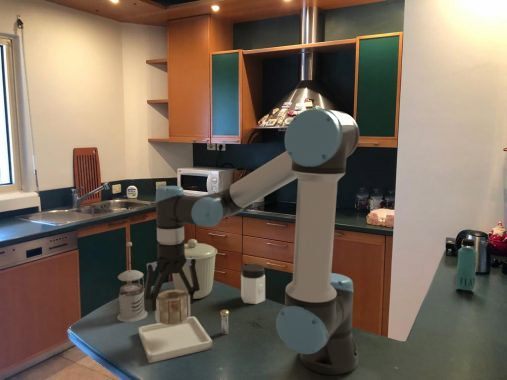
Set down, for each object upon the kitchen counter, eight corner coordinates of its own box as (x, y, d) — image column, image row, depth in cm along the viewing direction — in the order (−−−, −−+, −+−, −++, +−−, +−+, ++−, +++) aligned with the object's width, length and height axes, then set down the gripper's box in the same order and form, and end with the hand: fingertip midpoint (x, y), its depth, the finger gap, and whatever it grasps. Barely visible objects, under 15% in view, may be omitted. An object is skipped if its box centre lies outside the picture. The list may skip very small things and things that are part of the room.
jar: (251, 306, 141) (251, 273, 139) (236, 299, 147) (236, 267, 145) (269, 299, 147) (269, 267, 145) (254, 292, 153) (254, 262, 151)
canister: (160, 293, 153) (158, 238, 150) (201, 281, 165) (200, 231, 162) (185, 308, 140) (183, 249, 137) (227, 295, 151) (226, 240, 148)
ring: (184, 310, 122) (183, 288, 121) (189, 323, 114) (189, 300, 113) (157, 314, 120) (156, 291, 119) (160, 328, 111) (160, 304, 110)
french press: (110, 320, 131) (106, 245, 128) (129, 305, 142) (126, 236, 139) (138, 323, 129) (134, 247, 125) (155, 308, 140) (152, 237, 136)
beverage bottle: (456, 293, 152) (460, 241, 149) (453, 286, 158) (457, 236, 155) (476, 295, 150) (480, 242, 147) (472, 288, 156) (476, 237, 153)
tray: (212, 348, 114) (212, 341, 113) (149, 363, 106) (148, 356, 106) (194, 321, 130) (194, 316, 129) (138, 333, 122) (138, 327, 122)
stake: (230, 333, 122) (230, 312, 121) (222, 335, 121) (222, 314, 120) (227, 330, 124) (227, 309, 123) (219, 331, 123) (219, 310, 122)
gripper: (202, 234, 122) (203, 306, 125) (130, 242, 113) (133, 319, 116) (210, 240, 115) (211, 316, 118) (134, 249, 106) (137, 330, 109)
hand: (173, 317), depth 117 cm, fingers closed on ring, 8 cm apart
